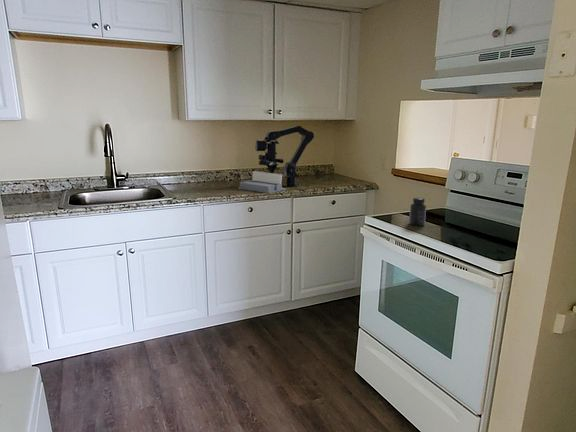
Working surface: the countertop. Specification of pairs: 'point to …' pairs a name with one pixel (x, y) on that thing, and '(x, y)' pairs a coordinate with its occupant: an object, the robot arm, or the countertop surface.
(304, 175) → the countertop surface
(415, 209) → the supplement bottle
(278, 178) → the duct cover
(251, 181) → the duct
